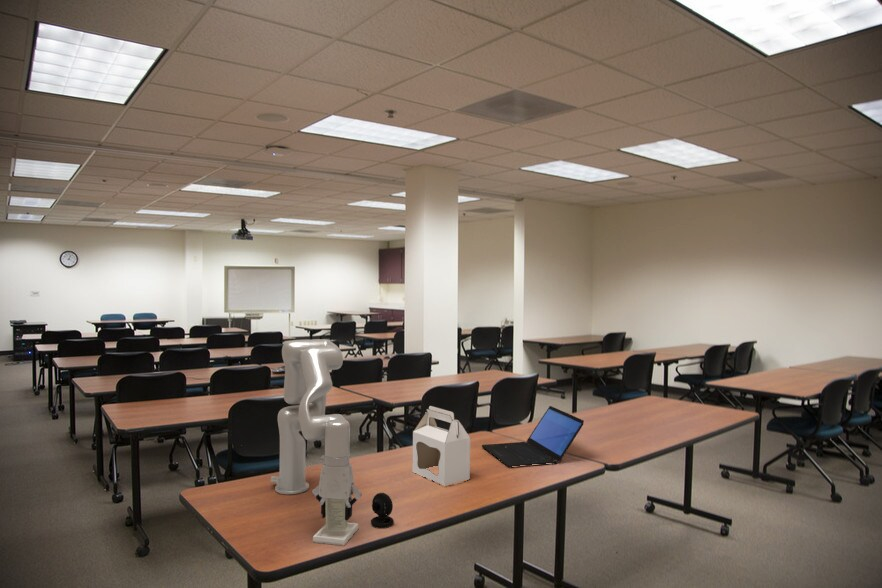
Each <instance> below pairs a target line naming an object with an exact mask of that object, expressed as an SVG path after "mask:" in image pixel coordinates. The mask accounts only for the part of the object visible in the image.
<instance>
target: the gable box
mask: <svg viewBox="0 0 882 588" xmlns="http://www.w3.org/2000/svg"><path fill="white" fill-rule="evenodd" d="M435 419H436V420H440V421H443V422H447V423H450V425H449V428H448V429H446V428H441V427H438V425H437V422H436V420H435ZM433 466H438V470H439V473H438V475H435V474H434V473H432V472H431V471H430V470H428V469H426V468H429V467H433ZM470 467H471V437H470V436H469V434H468V432H467V430H466V429H465V428H464V426H463V424H462V423H461V422H460V420H458V419H456V417H455V412H454V411H450V410H447V409H444V408H442V407H441V408H440V407H437V406H433V405H429V407H428V408H426V411H425V413H424V415H423V416H422V418H421V419H420V421H419V422H418V424H417V425H416V427H415V428H414V430H412V473H413V472H414V473H417V474H419V475H421V476H423V477H426V478H428V479H430V480H433V481H435V482H438V483H440V484H442V485H444V486H445V485H449V484H453V483H457V482H460V481H464V480H468V479H471V473H470V472H471V468H470ZM414 473H413V474H414ZM417 474H416V475H417ZM419 475H418V476H419ZM421 476H420V477H421ZM423 477H422V478H423ZM428 479H427V480H428ZM430 480H429V481H430Z"/></svg>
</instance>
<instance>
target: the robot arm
mask: <svg viewBox="0 0 882 588" xmlns="http://www.w3.org/2000/svg"><path fill="white" fill-rule="evenodd" d="M281 356H282V357H281V358H282V360H283V361H282V362H283V364H284V382H283V383H284V384H283V400H284V402H286V403H287V404H288V405H290V406H286V407H285V406H284V407H282V408H281V409H280V410H279V411H278V414H277V425H278V432H279V433H278V434H279V474H278V476H276V475H271V476H270V483H272V484H276V485H275V487H274V491H275V492H276V493H277V494H281V495H296V494H301V493H304V492H307V491H308V490H309V489H310V484H309V482H307V481H306V450H307V448H306V445H307V444H306V441H309V442H313V441H319V440H320V441H322V440H324V454H322V455H321V456H320V460H322V461H323V464H322V465H321V469H320V475H319V482H318V483H319V484H318V485H317V486H316V487H315V488H314V489H312V490H311V492H312V494H313V495H314V497H315V499H316V500H317V501H318V503H319V505H320V514H321V518H322V519H326V511H325V498H329V499H337V500H345V503H346V505H347V507H346V508H345V520H347V521H348V520H350V518H351V517H352V516H353V505H354V504H355V503H356V502H357V501H358V500H359V499H360V498H361V497H362V495H363V494H362V492H361V491H360V490H359V488H357V487H356V486H355V483H354V471H353V465H352V463H350V456H351V455H350V449H351V446H350V443H351V442H350V439H351V438H350V437H351V436H350V435H351V425H350V422H349V421H348V419H347V420H346V418H345V417H344V416H343V415H342V414H339V413H333V414H326V407H327V406H326V405H327V394H328V393H329V392H330V391H331V390H332V389H333V381H332V377H331V374H330V371H335V370H340V368H341V367H342V366H343V361H344V357H343V352H342V351H341V349H340V348H339V347H338V345H337V344H335V343H334V342H333V341H331V340H329V339H327V338H326V339H325V338H324V339H322V338H321V339H320V338H319V339H318V338H317V339H294V340H293V339H292V340H287V341H286V342H284V343H283V345H282V348H281ZM300 432H301V433H300ZM325 491H326V494H325ZM352 495H354V497H353V498H352Z"/></svg>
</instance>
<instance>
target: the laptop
mask: <svg viewBox="0 0 882 588" xmlns="http://www.w3.org/2000/svg"><path fill="white" fill-rule="evenodd" d="M584 422H585V421H584V419H581V418H579V417H577V416H575V415H572V414H570V413H567V412H565V411H563V410H561V409H559V408H556V407H554V406H552V405H550V406H548V408H547V410H546V411H545V412H544V414H543V416H542V417H541V418H540V420H539V422H538V423H537V425H536V426H535V428H534V429H533V431H532V432H531V434H530V435H529V437H528V438H527V440H526V441H516V442H507V443H506V442H504V443H503V442H502V443H490V444H489V443H488V444H481V447H482V448H483V449H484V450H485V449H486V452H488V451H489V452H488V453H490V454H491V455H492V454H493V455H494V456H493V455H492V456H493V457H494V458H496V457H497V458H498V459H497V458H496V459H497V460H499V459H500V460H501V461H502V462H503V463H502V462H501V461H500V460H499V461H500V462H501V463H502V464H503V465H505V464H506V465H507V466H509V467H512V466H520V465H532V464H546V463H556V464H558V463H560V461H561V460H562V458H563V456H564V455H565V454H566V452H567V450H568V449H569V448H570V446H571V444H572V443H573V441H574V440H575V438H576V437H577V436H578V433H579V432H580V431H581V429H582V428H583V426H584ZM506 465H505V466H506ZM507 466H506V467H507ZM509 467H508V468H509Z"/></svg>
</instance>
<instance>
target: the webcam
mask: <svg viewBox="0 0 882 588" xmlns="http://www.w3.org/2000/svg"><path fill="white" fill-rule="evenodd" d="M371 507H372V508H371V510H372V511H373V513H374V514H376V515H377V516H375V517H373V518H371V519H370V524H371V526H372V527H374V528H376V527H378V528H377V529H385V527H386V528H390V527H392V526H393V525H394V522H395V521H394V518H393V517H391V516H390V515H391V514H392V512H393V507H394V506H393V501H392V499H391V496H389V494H387V493H384V492H378V493H376V494H375V495H374V496H373V497H372V504H371ZM385 521H387V522H385ZM392 524H393V525H392ZM389 526H390V527H389Z"/></svg>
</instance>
